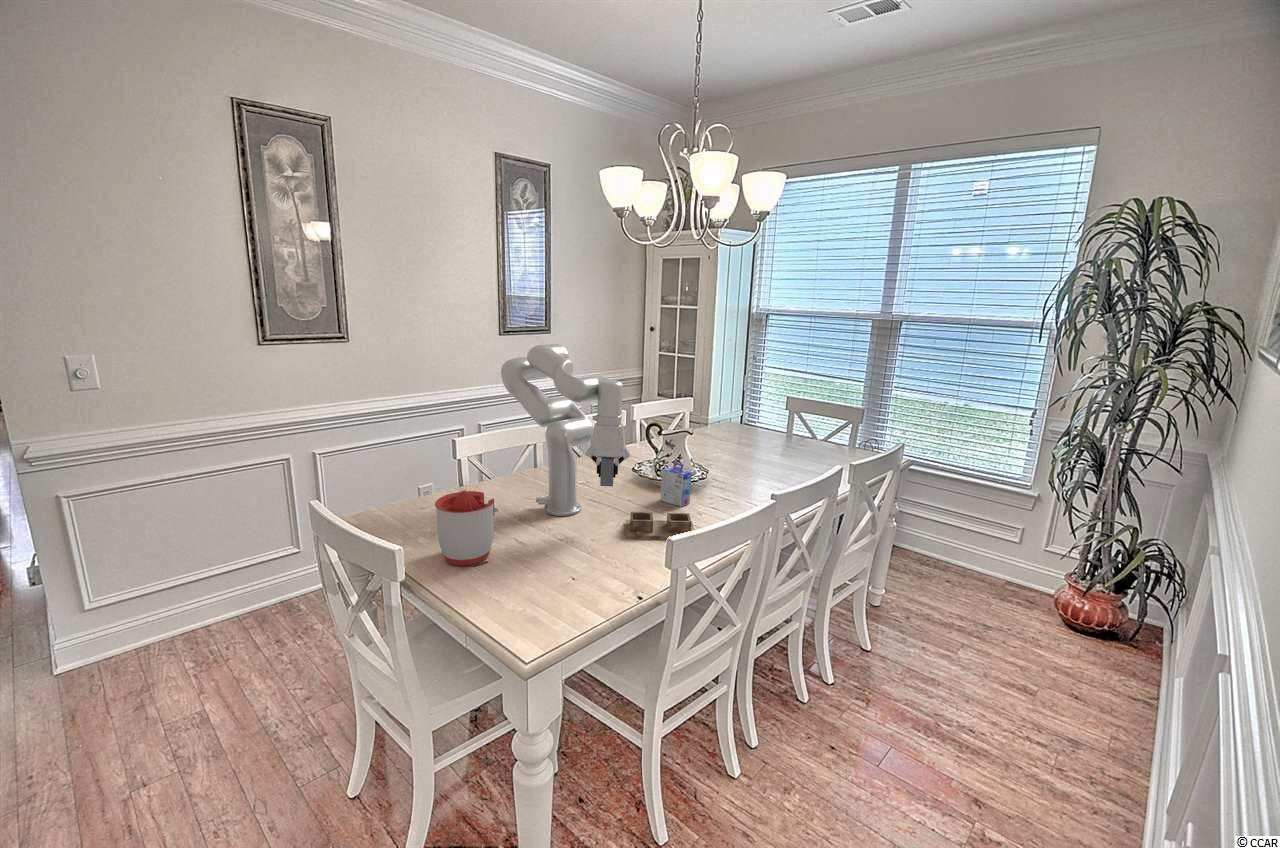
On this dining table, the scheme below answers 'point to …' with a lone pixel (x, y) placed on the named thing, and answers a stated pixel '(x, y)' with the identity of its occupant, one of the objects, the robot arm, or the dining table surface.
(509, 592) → the dining table surface
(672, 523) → the socket board
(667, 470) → the ink cartridge box
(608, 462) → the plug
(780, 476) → the dining table surface
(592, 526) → the dining table surface
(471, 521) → the citrus juicer
